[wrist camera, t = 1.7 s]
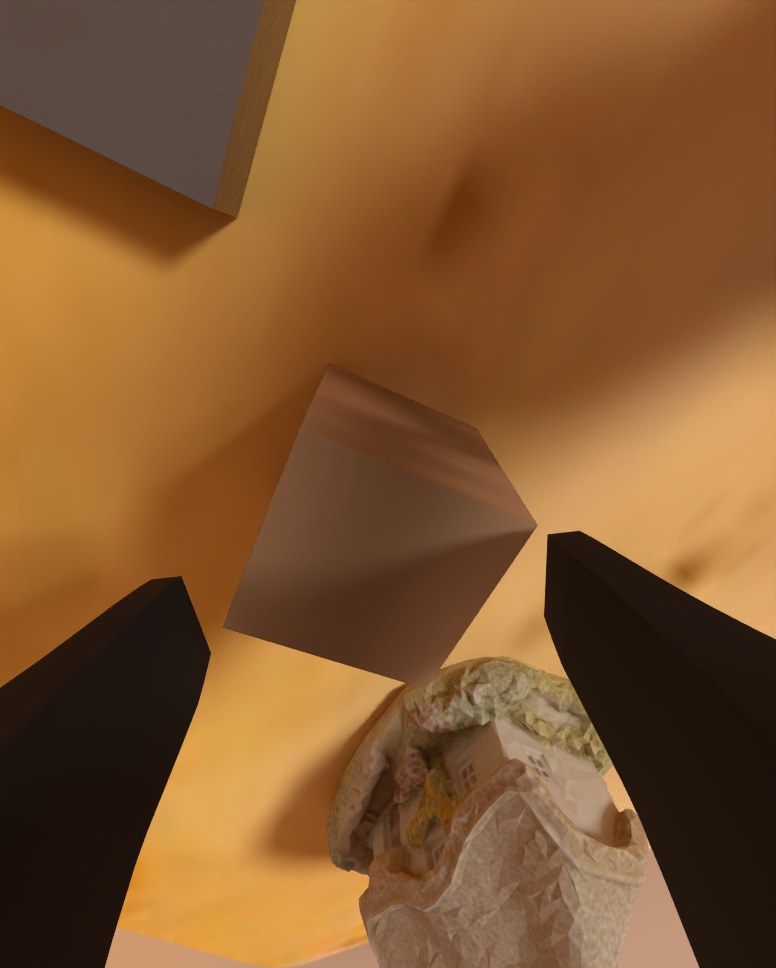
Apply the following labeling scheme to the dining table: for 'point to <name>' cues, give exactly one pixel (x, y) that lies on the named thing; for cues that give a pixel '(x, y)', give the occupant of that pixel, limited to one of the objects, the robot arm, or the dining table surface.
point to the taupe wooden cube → (380, 534)
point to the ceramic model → (488, 826)
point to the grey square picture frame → (150, 83)
